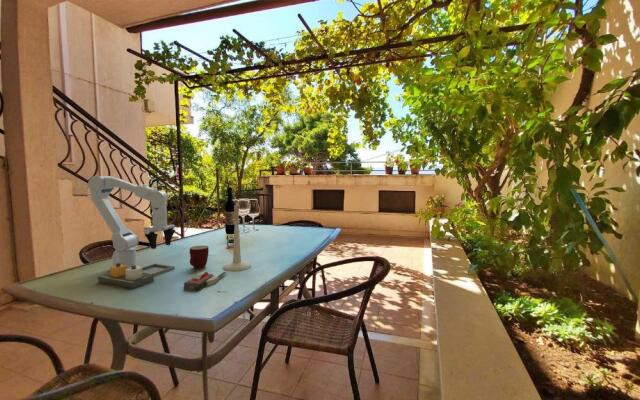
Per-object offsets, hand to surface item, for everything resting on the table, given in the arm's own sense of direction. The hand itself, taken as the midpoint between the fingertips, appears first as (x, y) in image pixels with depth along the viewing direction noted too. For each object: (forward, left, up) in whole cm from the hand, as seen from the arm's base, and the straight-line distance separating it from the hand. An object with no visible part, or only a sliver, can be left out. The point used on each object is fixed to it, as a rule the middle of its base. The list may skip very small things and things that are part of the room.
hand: (160, 246), depth 137 cm
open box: (+3, -19, -10) cm, 22 cm away
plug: (-1, -19, -10) cm, 22 cm away
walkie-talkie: (+31, -6, -11) cm, 33 cm away
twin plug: (+7, -19, -10) cm, 23 cm away
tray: (+1, -5, -10) cm, 12 cm away
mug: (+16, +6, -11) cm, 20 cm away
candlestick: (+30, +16, -11) cm, 35 cm away
